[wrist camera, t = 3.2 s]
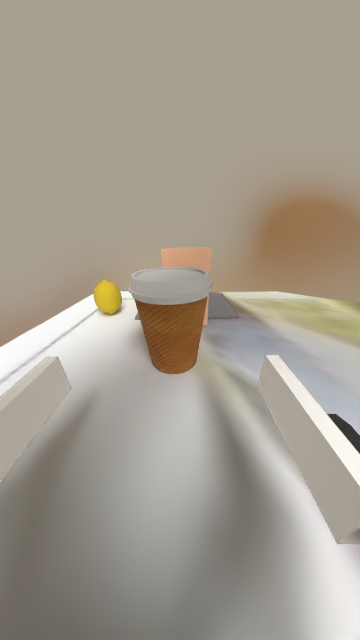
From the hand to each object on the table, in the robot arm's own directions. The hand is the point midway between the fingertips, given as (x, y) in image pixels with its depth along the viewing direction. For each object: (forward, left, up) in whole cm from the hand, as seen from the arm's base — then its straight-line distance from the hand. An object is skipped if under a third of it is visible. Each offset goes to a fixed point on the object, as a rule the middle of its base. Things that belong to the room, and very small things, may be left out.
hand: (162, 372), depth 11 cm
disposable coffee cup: (0, -11, -8) cm, 13 cm away
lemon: (+15, -27, -8) cm, 32 cm away
